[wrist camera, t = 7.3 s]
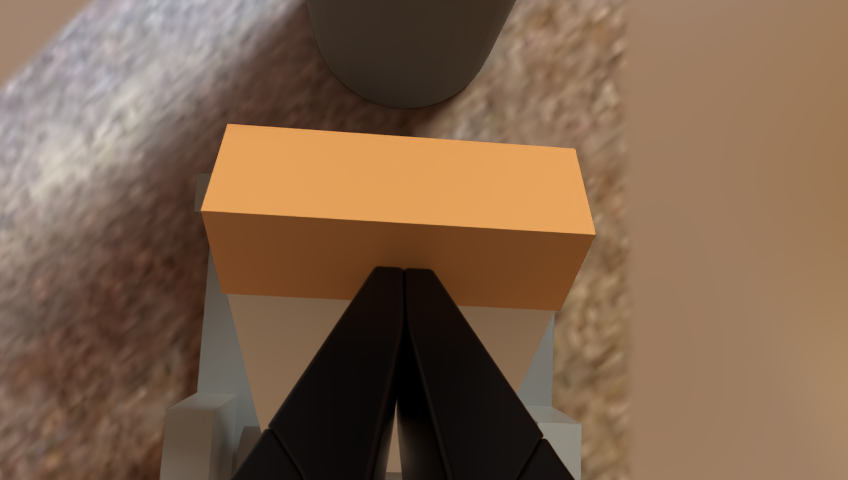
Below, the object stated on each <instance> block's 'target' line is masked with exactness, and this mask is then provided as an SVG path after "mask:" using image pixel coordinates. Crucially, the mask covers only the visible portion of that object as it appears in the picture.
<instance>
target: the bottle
mask: <svg viewBox="0 0 848 480" xmlns="http://www.w3.org/2000/svg"><path fill="white" fill-rule="evenodd" d="M515 1H516V0H306V3H307V7H308V11H309V16H310V20H311V24H312V28H313V32H314V36H315V39H316V42H317V45H318V48H319V50H320V53H321V55H322V57H323V59H324V61H325V62H326V64H327V65H328V67H329V69H330V70H331V71H332V73H333V74H334V75H335V76H336V77H337V79H338V80H339V81H341V82H342V83H343V84H344V85H345V86H347V87H348V88H349V89H350V90H352V91H353V92H354V93H356V94H357V95H359V96H361V97H363V98H365V99H367V100H369V101H371V102H374V103H376V104H380V105H384V106H389V107H394V108H419V107H425V106H429V105H433V104H436V103H439V102H441V101H443V100H446V99H448V98H450V97H451V96H453V95H455V94H456V93H458V92H460V91H461V90H462V89H463V88H464V87H466V86H467V85H468V84H469V83H470V82H471V81H472V79H473V78H474V77H475V76H476V75H477V73H478V72H479V71H480V69H481V68H482V66H483V64H484V63H485V61H486V59H487V57H488V56H489V54H490V52H491V50H492V48H493V46H494V44H495V42H496V40H497V38H498V36H499V34H500V32H501V30H502V28H503V26H504V24H505V22H506V20H507V18H508V16H509V14H510V12H511V9H512V7H513V5H514V3H515Z"/></svg>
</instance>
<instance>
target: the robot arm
mask: <svg viewBox="0 0 848 480" xmlns="http://www.w3.org/2000/svg"><path fill="white" fill-rule="evenodd" d="M395 410H396V416H397V431H398V441H399V452H400V462H401V472H402V480H575V479H574V477H573V476H572V475H571V473H570V472H569V470H568V469H567V468H566V466H565V465H564V463H563V462H562V461H561V459H560V458H559V456H558V455H557V453H556V452H555V450H554V449H553V447H552V446H551V444H550V443H549V441H548V440H547V439H545V438H544V439H543V437H544V435H543V433H542V431H541V430H540V428H539V427H538V425H537V424H536V422H535V421H534V419H533V418H532V416H531V415H530V413H529V412H528V410H527V409H526V407H525V406H524V404H523V403H522V401H521V400H520V398H519V397H518V396H517V394H516V393H515V391H514V390H513V388H512V387H511V385H510V384H509V382H508V381H507V379H506V378H505V376H504V375H503V373H502V372H501V370H500V369H499V367H498V366H497V364H496V363H495V361H494V360H493V358H492V357H491V356H490V354H489V353H488V351H487V350H486V348H485V347H484V345H483V344H482V342H481V341H480V339H479V338H478V336H477V335H476V333H475V332H474V330H473V329H472V327H471V326H470V324H469V323H468V321H467V320H466V318H465V317H464V315H463V314H462V313H461V311H460V310H459V308H458V307H457V305H456V304H455V302H454V301H453V299H452V298H451V296H450V295H449V293H448V292H447V290H446V289H445V287H444V286H443V284H442V283H441V281H440V280H439V278H438V277H437V275H436V274H435V272H434V271H433V270H431V269H420V268H407V269H405V270H404V273H403V270H402V269H401V268H399V267H384V266H376V267H375V268H374V269H373V270H372V271H371V273H370V274H369V276H368V277H367V279H366V280H365V282H364V283H363V285H362V286H361V288H360V289H359V291H358V292H357V293H356V295H355V296H354V298H353V299H352V301H351V302H350V304H349V305H348V307H347V308H346V310H345V311H344V313H343V314H342V316H341V317H340V319H339V320H338V322H337V323H336V325H335V326H334V328H333V329H332V331H331V332H330V334H329V335H328V336H327V338H326V339H325V341H324V342H323V344H322V345H321V347H320V348H319V350H318V351H317V353H316V354H315V356H314V357H313V359H312V360H311V362H310V363H309V365H308V366H307V368H306V369H305V371H304V372H303V374H302V375H301V377H300V378H299V379H298V381H297V382H296V384H295V385H294V387H293V388H292V390H291V391H290V393H289V394H288V396H287V397H286V399H285V400H284V402H283V403H282V405H281V406H280V408H279V409H278V411H277V412H276V414H275V415H274V417H273V418H272V420H271V421H270V422H269V424H268V429H265V430H264V431H263V432H262V434H261V435H260V437H259V438H258V440H257V441H256V443H255V444H254V446H253V447H252V449H251V450H250V452H249V453H248V454H247V456H246V457H245V459H244V460H243V461H242V463H241V464H240V465H239V467H238V468H237V470H236V471H235V472H234V474H233V475H232V476H231V478H230V479H229V480H385V476H386V470H387V464H388V458H389V452H390V445H391V439H392V433H393V426H394V419H395Z"/></svg>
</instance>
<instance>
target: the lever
mask: <svg viewBox="0 0 848 480" xmlns="http://www.w3.org/2000/svg"><path fill="white" fill-rule="evenodd" d="M201 214H202V217H203V221H204V225H205V229H206V233H207V237H208V241H209V245H210V248H211V252H212V256H213V260H214V264H215V268H216V272H217V276H218V280H219V283H220V287H221V291H222V294H227V296H228V300H229V304H230V308H231V312H232V316H233V320H234V324H235V328H236V332H237V337H238V341H239V345H240V349H241V353H242V357H243V361H244V365H245V369H246V373H247V377H248V381H249V385H250V389H251V393H252V397H253V401H254V405H255V409H256V413H257V417H258V421H259V425H260V427H259V426H245V427H244V428H243V431H242V434H241V438H240V443H239V449H238V461H237V468H238V467H239V465H240V464H241V463H242V461H243V460H244V459H245V457H246V456H247V454H248V453H249V452H250V450H251V449H252V447H253V446H254V444H255V443H256V441H257V440H258V438H259V437H260V435H261V434H262V432H263V431H264V430H265V429H268V424H269V422H270V421H271V420H272V418H273V417H274V415H275V414H276V412H277V411H278V409H279V408H280V406H281V405H282V403H283V402H284V400H285V399H286V397H287V396H288V394H289V393H290V391H291V390H292V388H293V387H294V385H295V384H296V382H297V381H298V379H299V378H300V377H301V375H302V374H303V372H304V371H305V369H306V368H307V366H308V365H309V363H310V362H311V360H312V359H313V357H314V356H315V354H316V353H317V351H318V350H319V348H320V347H321V345H322V344H323V342H324V341H325V339H326V338H327V336H328V335H329V334H330V332H331V331H332V329H333V328H334V326H335V325H336V323H337V322H338V320H339V319H340V317H341V316H342V314H343V313H344V311H345V310H346V308H347V307H348V305H349V304H350V302H351V301H352V299H353V298H354V296H355V295H356V293H357V292H358V291H359V289H360V288H361V286H362V285H363V283H364V282H365V280H366V279H367V277H368V276H369V274H370V273H371V271H372V270H373V269H374V268H375V267H376V266H384V267H399V268H401V269H402V270H403V273H404V270H405V269H407V268H420V269H431V270H433V271H434V272H435V274H436V275H437V277H438V278H439V280H440V281H441V283H442V284H443V286H444V287H445V289H446V290H447V292H448V293H449V295H450V296H451V298H452V299H453V301H454V302H455V304H456V305H457V307H458V308H459V310H460V311H461V313H462V314H463V315H464V317H465V318H466V320H467V321H468V323H469V324H470V326H471V327H472V329H473V330H474V332H475V333H476V335H477V336H478V338H479V339H480V341H481V342H482V344H483V345H484V347H485V348H486V350H487V351H488V353H489V354H490V356H491V357H492V358H493V360H494V361H495V363H496V364H497V366H498V367H499V369H500V370H501V372H502V373H503V375H504V376H505V378H506V379H507V381H508V382H509V384H510V385H511V387H512V388H513V390H514V391H515V393H516V394H517V392H518V390H519V388H520V386H521V384H522V381H523V379H524V377H525V375H526V373H527V371H528V368H529V366H530V364H531V362H532V360H533V358H534V355H535V353H536V351H537V349H538V347H539V345H540V342H541V340H542V338H543V336H544V334H545V331H546V329H547V327H548V325H549V323H550V321H551V318H552V316H553V314H554V312H555V311H560V310H561V308H562V305H563V303H564V301H565V299H566V297H567V295H568V293H569V291H570V288H571V286H572V284H573V282H574V280H575V278H576V276H577V274H578V271H579V269H580V267H581V265H582V263H583V261H584V259H585V257H586V255H587V252H588V250H589V248H590V246H591V244H592V242H593V240H594V238H595V235H596V233H595V229H594V225H593V221H592V217H591V213H590V209H589V204H588V200H587V196H586V192H585V188H584V184H583V180H582V176H581V172H580V168H579V163H578V159H577V155H576V151H575V149H572V148H558V147H544V146H530V145H516V144H502V143H488V142H474V141H460V140H446V139H432V138H418V137H404V136H390V135H376V134H362V133H349V132H335V131H321V130H307V129H293V128H279V127H265V126H251V125H237V124H227V127H226V131H225V134H224V137H223V140H222V144H221V147H220V150H219V153H218V157H217V160H216V163H215V166H214V169H213V173H212V176H211V179H210V182H209V186H208V189H207V192H206V195H205V198H204V202H203V205H202V208H201ZM385 480H402V472H401V462H400V452H399V441H398V431H397V416H396V410H395V419H394V426H393V433H392V439H391V445H390V452H389V458H388V464H387V470H386V476H385Z"/></svg>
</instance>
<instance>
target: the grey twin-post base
mask: <svg viewBox="0 0 848 480" xmlns="http://www.w3.org/2000/svg"><path fill="white" fill-rule="evenodd" d="M211 176H212V174H204V173H197V181H196V192H195V203H194V212H196V213H198V214H200V215H202V214H201V208H202V205H203V202H204V198H205V195H206V192H207V189H208V186H209V182H210V179H211ZM553 344H554V314H553V316H552V318H551V321H550V323H549V325H548V327H547V329H546V331H545V334H544V336H543V338H542V340H541V342H540V345H539V347H538V349H537V351H536V353H535V355H534V358H533V360H532V362H531V364H530V366H529V368H528V371H527V373H526V375H525V377H524V379H523V381H522V384H521V386H520V388H519V390H518V392H517V396H518V397H519V398H520V400H521V401H522V403H523V404H524V406H525V407H526V409H527V410H528V412H529V413H530V415H531V416H532V418H533V419H534V421H535V422H536V424H537V425H538V427H539V428H540V430H541V431H542V433H543V435H544V437H543V439H544V438H545V439H547V440H548V441H549V443H550V444H551V446H552V447H553V449H554V450H555V452H556V453H557V455H558V456H559V458H560V459H561V461H562V462H563V463H564V465H565V466H566V468H567V469H568V470H569V472H570V473H571V475H572V476H573V477H574V479H575V480H580V479H581V438H582V424H581V423H579V422H577V421H576V420H574V419H572V418H570V417H569V416H567V415H565V414H564V413H562V412H560V411H559V410H557V409H555V408H554V407H552V378H553ZM245 426H259V427H260V425H259V421H258V417H257V413H256V409H255V405H254V401H253V397H252V393H251V389H250V385H249V381H248V377H247V373H246V369H245V365H244V361H243V357H242V353H241V349H240V345H239V341H238V337H237V332H236V328H235V324H234V320H233V316H232V312H231V308H230V304H229V300H228V296H227V294H222V291H221V287H220V283H219V280H218V276H217V272H216V268H215V264H214V260H213V256H212V252H211V248H210V247H209V259H208V270H207V282H206V294H205V305H204V317H203V329H202V340H201V352H200V364H199V375H198V387H197V393H196V394H194V395H192V396H190V397H188V398H186V399H184V400H182V401H180V402H178V403H177V404H175V405H173V406H171V407H169V408H167V409H166V415H165V426H164V438H163V449H162V460H161V471H160V480H229V479H230V478H231V476H232V475H233V474H234V472H235V471H236V470H237V461H238V449H239V443H240V438H241V434H242V431H243V428H244V427H245Z"/></svg>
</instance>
